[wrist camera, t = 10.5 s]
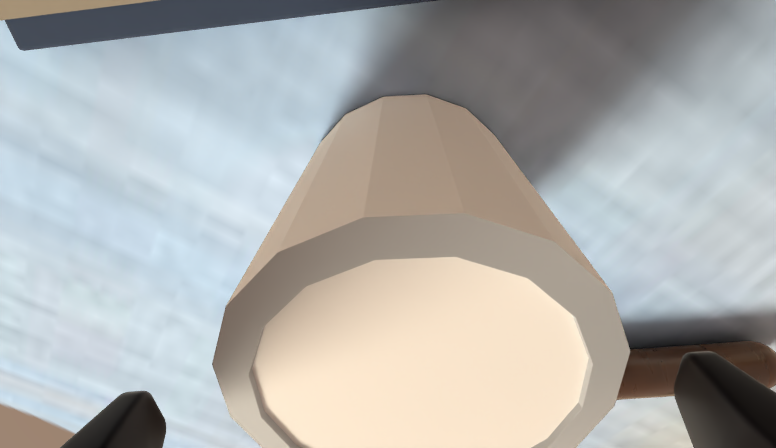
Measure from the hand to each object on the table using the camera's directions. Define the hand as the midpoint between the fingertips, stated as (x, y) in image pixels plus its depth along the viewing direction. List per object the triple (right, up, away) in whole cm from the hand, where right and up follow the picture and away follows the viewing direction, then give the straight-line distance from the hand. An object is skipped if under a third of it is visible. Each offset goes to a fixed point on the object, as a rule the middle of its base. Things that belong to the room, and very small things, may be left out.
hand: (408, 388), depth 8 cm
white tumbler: (0, +4, +6) cm, 7 cm away
